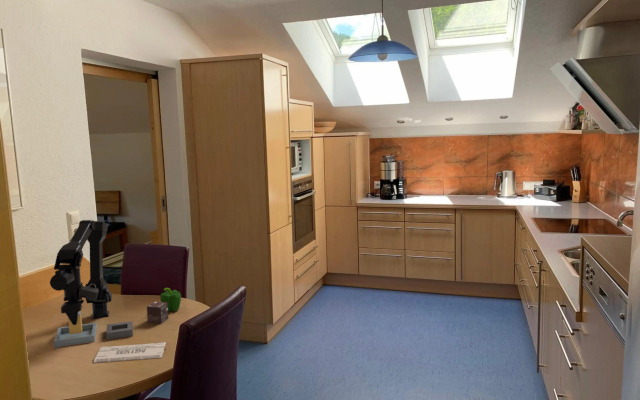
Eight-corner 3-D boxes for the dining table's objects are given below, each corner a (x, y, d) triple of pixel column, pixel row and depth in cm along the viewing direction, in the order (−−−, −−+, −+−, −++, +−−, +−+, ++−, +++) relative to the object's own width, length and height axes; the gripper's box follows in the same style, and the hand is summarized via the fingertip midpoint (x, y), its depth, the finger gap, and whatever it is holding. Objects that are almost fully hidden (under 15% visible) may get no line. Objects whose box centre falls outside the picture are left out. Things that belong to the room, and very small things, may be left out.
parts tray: (59, 334, 187) (58, 327, 187) (96, 329, 192) (96, 322, 191) (54, 348, 175) (53, 341, 175) (94, 342, 180) (94, 335, 179)
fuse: (70, 331, 184) (68, 313, 183) (82, 329, 185) (80, 311, 184) (69, 334, 181) (68, 316, 180) (81, 332, 183) (80, 314, 182)
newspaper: (167, 344, 179) (167, 338, 179) (162, 363, 168) (162, 356, 167) (101, 348, 176) (100, 342, 175) (91, 368, 164) (90, 361, 164)
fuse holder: (107, 332, 190) (107, 324, 189) (132, 328, 193) (132, 321, 192) (106, 341, 181) (106, 333, 181) (133, 337, 184) (132, 329, 184)
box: (161, 325, 196) (160, 307, 195) (147, 324, 197) (146, 306, 196) (168, 319, 202) (167, 302, 201) (155, 318, 203) (154, 301, 202)
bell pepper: (182, 306, 217) (181, 283, 216) (181, 312, 209) (179, 289, 208) (162, 307, 216) (160, 285, 214) (160, 314, 208) (158, 291, 206)
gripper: (94, 286, 175) (97, 329, 177) (97, 272, 192) (100, 311, 194) (59, 290, 171) (62, 333, 173) (65, 276, 188) (68, 315, 190)
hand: (75, 323), depth 183 cm, fingers closed on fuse, 3 cm apart
